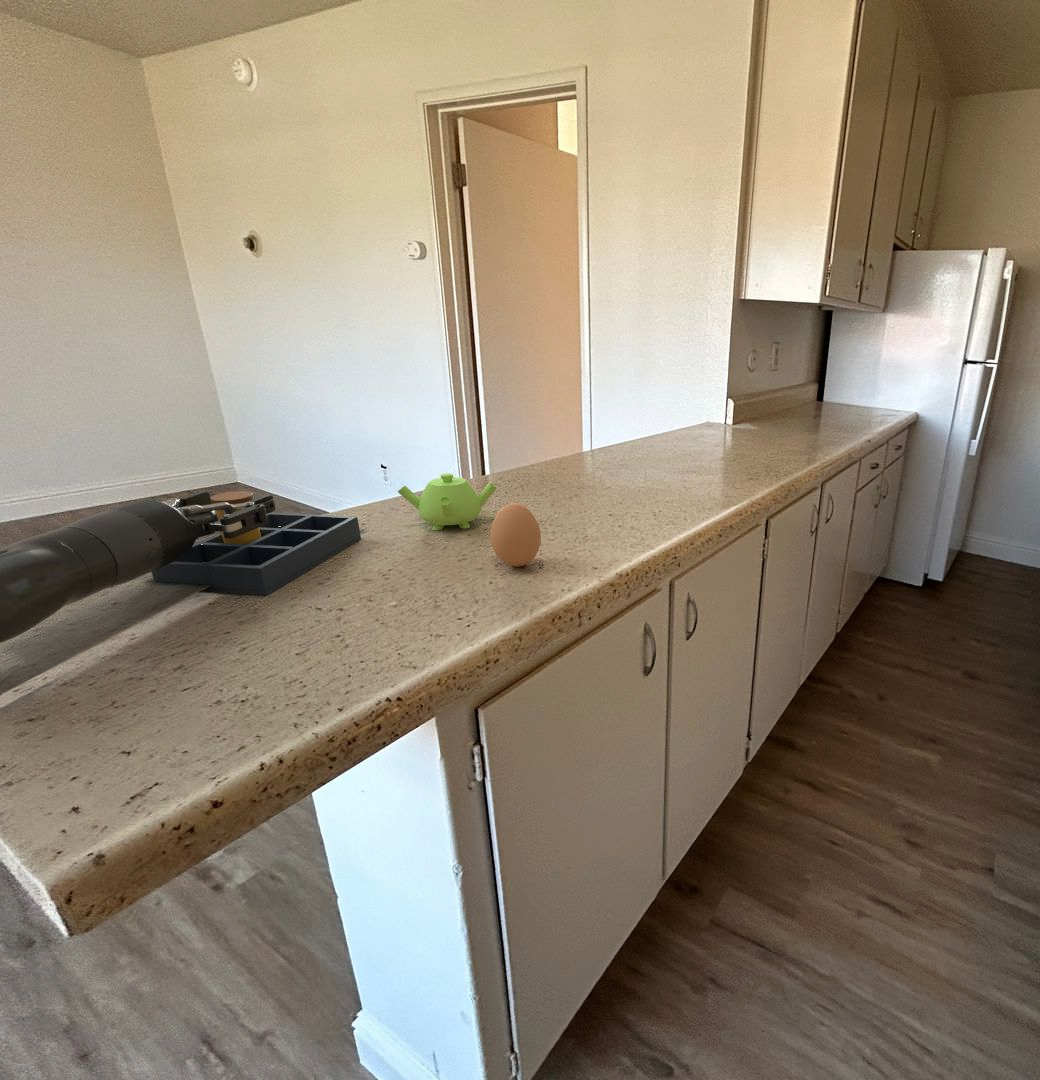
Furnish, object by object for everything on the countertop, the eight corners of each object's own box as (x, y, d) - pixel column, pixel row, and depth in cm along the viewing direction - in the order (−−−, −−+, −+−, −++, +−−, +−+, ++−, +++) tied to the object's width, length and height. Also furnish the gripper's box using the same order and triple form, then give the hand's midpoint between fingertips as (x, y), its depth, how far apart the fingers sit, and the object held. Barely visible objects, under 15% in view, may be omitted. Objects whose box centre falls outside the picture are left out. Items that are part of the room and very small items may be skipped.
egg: (490, 575, 80) (483, 511, 77) (496, 557, 86) (491, 497, 83) (540, 573, 82) (536, 510, 78) (544, 555, 88) (540, 496, 84)
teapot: (457, 508, 106) (451, 462, 103) (504, 520, 101) (500, 472, 98) (400, 526, 96) (392, 475, 93) (449, 540, 92) (442, 487, 89)
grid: (156, 590, 72) (148, 562, 71) (273, 534, 90) (268, 512, 89) (266, 595, 72) (260, 568, 71) (361, 539, 90) (357, 516, 89)
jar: (217, 560, 79) (201, 499, 76) (243, 548, 83) (228, 490, 80) (250, 562, 79) (235, 501, 76) (274, 550, 83) (261, 491, 80)
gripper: (180, 514, 63) (287, 476, 78) (46, 507, 63) (178, 470, 78) (199, 578, 65) (298, 529, 81) (70, 572, 65) (193, 524, 81)
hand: (239, 500), depth 79 cm, fingers open, 8 cm apart
